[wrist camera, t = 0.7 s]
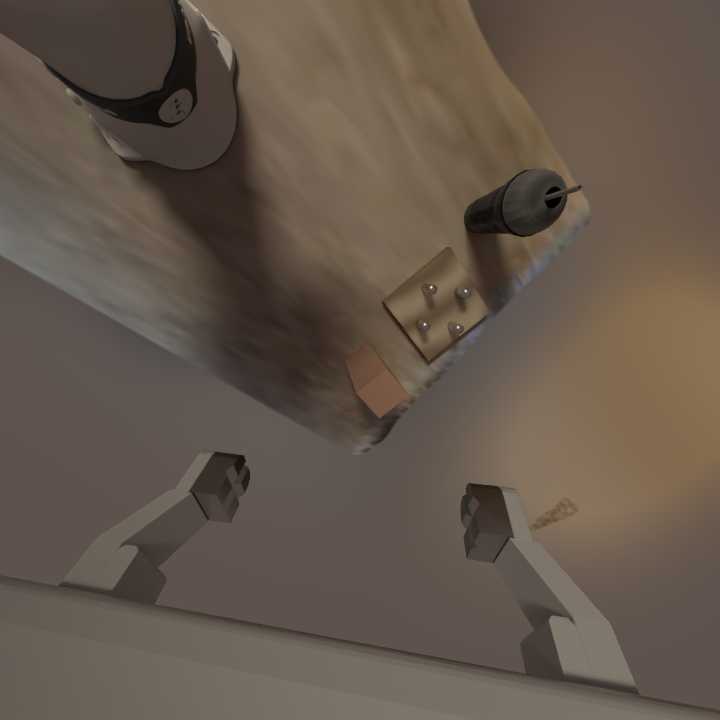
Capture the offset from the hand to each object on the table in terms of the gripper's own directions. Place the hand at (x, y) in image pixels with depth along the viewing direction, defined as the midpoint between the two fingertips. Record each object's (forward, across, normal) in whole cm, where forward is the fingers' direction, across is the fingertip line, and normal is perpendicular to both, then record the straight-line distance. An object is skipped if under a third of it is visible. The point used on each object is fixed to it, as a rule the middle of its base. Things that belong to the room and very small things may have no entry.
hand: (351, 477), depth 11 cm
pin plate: (+41, -7, +12) cm, 43 cm away
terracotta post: (+35, +4, +20) cm, 40 cm away
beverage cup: (+47, -12, -1) cm, 48 cm away
